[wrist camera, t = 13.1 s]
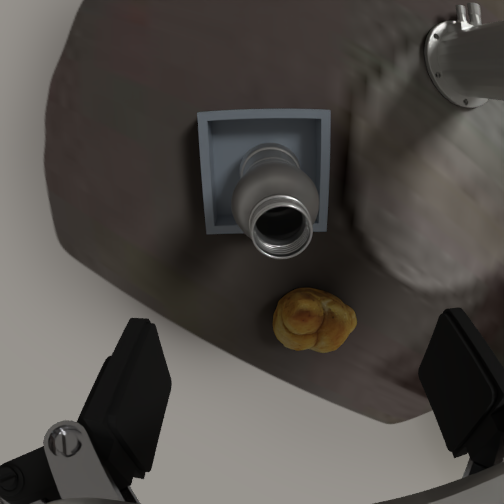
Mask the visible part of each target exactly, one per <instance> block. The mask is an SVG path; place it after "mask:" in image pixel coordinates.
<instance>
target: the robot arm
mask: <svg viewBox="0 0 504 504" xmlns="http://www.w3.org/2000/svg"><path fill="white" fill-rule="evenodd" d="M467 8H468V15H469V19H470V22H467V21H466V10H465V7H464V6H462V5H456V14H457V18H458V20H456V21H445V22H441V23H439V24H437V25H435V26H434V27H433V28H432V29H431V30H430V32H429V34H428V35H427V38H426V41H425V48H424V54H425V62H426V67H427V70H428V73H429V75H430V77H431V79H432V81H433V83H434V85H435V86H436V88H437V89H438V90H439V92H440V93H441V94H442V95H443V96H444V97H445V98H446V99H448V100H449V101H450V102H452V103H454V104H456V105H458V106H461V107H466V108H476V107H479V106H482V105H483V104H485V103H486V102H487V101H488V100H489V99H495V100H503V101H504V21H498V22H493V23H487V24H482V23H481V11H480V6H479V5H478V4H476V3H467ZM435 75H436V76H435ZM418 375H419V379H420V381H421V383H422V386H423V388H424V390H425V393H426V395H427V397H428V400H429V402H430V405H431V407H432V409H433V412H434V414H435V417H436V419H437V422H438V425H439V427H440V430H441V432H442V435H443V438H444V440H445V443H446V446H447V448H448V450H449V451H451V452H452V453H453V456H454V458H456V457H459V456H462V455H465V454H467V453H468V454H469V456H470V458H469V461H468V464H467V467H466V470H465V472H464V475H463V477H462V479H459V480H457V481H454V482H451V483H448V484H445V485H442V486H439V487H436V488H433V489H430V490H426V491H423V492H419V493H416V494H412V495H408V496H405V497H401V498H396V499H392V500H388V501H383V502H379V503H374V504H504V369H503V367H502V365H501V364H500V362H499V361H498V359H497V358H496V356H495V355H494V353H493V352H492V350H491V349H490V347H489V346H488V344H487V343H486V341H485V340H484V338H483V337H482V336H481V334H480V333H479V331H478V330H477V328H476V327H475V326H474V324H473V323H472V322H471V320H470V319H469V317H468V316H467V315H466V313H465V312H464V311H463V310H462V309H461V308H450V309H445V310H444V312H443V314H441V315H440V316H439V319H438V321H437V324H436V327H435V330H434V332H433V335H432V338H431V340H430V343H429V345H428V348H427V350H426V353H425V355H424V358H423V360H422V362H421V365H420V367H419V371H418ZM170 391H171V377H170V374H169V371H168V367H167V364H166V361H165V357H164V354H163V350H162V347H161V344H160V340H159V336H158V333H157V329H156V326H155V324H153V323H150V321H149V319H143V318H131V319H130V320H129V322H128V324H127V326H126V328H125V330H124V332H123V334H122V336H121V338H120V340H119V342H118V344H117V346H116V348H115V350H114V352H113V354H112V356H109V357H108V358H107V359H106V360H105V362H104V364H103V366H102V368H101V370H100V372H99V374H98V377H97V379H96V381H95V383H94V385H93V387H92V389H91V391H90V394H89V396H88V398H87V400H86V402H85V405H84V407H83V409H82V411H81V414H80V416H79V418H78V421H77V422H74V421H61V422H58V423H56V424H54V425H53V426H52V427H51V428H50V429H49V430H48V431H47V433H46V435H45V437H44V442H43V443H44V446H43V447H41V448H38V449H36V450H34V451H32V452H29V453H27V454H25V455H22V456H20V457H18V458H16V459H13V460H11V461H8V462H6V463H4V464H2V465H1V466H0V504H140V502H139V501H138V499H137V497H136V496H135V494H134V493H133V491H132V489H131V487H130V485H131V483H132V479H133V477H135V478H141V479H144V476H145V472H150V470H151V468H152V464H153V459H154V455H155V451H156V447H157V443H158V439H159V434H160V430H161V426H162V422H163V418H164V414H165V410H166V406H167V403H168V399H169V395H170Z"/></svg>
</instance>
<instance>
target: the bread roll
mask: <svg viewBox="0 0 504 504" xmlns="http://www.w3.org/2000/svg"><path fill="white" fill-rule="evenodd" d="M356 324H357V319H356V315H355V312H354V310H353V309H352V308H351V307H350V306H348V305H346V304H344V303H343V302H342V300H340V299H339V298H338V297H336V296H335V295H332V294H330V293H328V292H326V291H323V290H319V289H315V288H308V287H306V288H297V289H295V290H293V291H291V292H289V293H288V294H286V295H285V296H284V297H283V298H281V299H280V300H279V302H278V305H277V308H276V310H275V312H274V314H273V331H274V333H275V335H276V337H277V339H278V340H279V341H280V342H281V343H282V344H284V347H287V348H290V349H293V350H296V351H299V350H305V349H311V350H314V351H316V352H321V353H326V352H330V351H334V350H336V349H337V348H338V347H339V346H341V345H342V344H343V343H344V341H345V340H346V339H347V337H348V335H349V333H351V332H352V331H353V330H354V328H355V327H356Z"/></svg>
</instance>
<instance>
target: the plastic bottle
mask: <svg viewBox="0 0 504 504" xmlns="http://www.w3.org/2000/svg"><path fill="white" fill-rule="evenodd" d="M240 178H241V179H240V180H239V182H238V183H237V185H236V187H235V189H234V191H233V195H232V199H231V209H232V214H233V217H234V219H235V221H236V223H237V225H238V226H239V228H240V229H241V230H242V231H243V233H245V234H246V235H247V236H248V237H249V238H251V239H252V241H253V244H254V245H255V247H256V248H257V249H258V250H259V251H260V252H261V253H262V254H264V255H265V256H268V257H270V258H274V259H288V258H292V257H295V256H296V255H298V254H300V253H301V252H303V251H304V250H305V249H306V248H307V246H308V245H309V243H310V241H311V239H312V234H313V224H314V222H315V220H316V218H317V214H318V211H319V203H320V202H319V194H318V191H317V188H316V186H315V185H314V183H313V181H312V180H311V179H310V178H309V177H308V176H307V174H305V173H304V172H303V171H302V170H301V169H300V163H299V161H298V158H297V157H296V155H295V154H294V153H293V152H292V151H291V150H290V149H289V148H287V147H286V146H283V145H281V144H277V143H263V144H260V145H257V146H255V147H253V148H252V149H250V150H249V151H248V152H247V153H246V154H245V156H244V157H243V159H242V161H241V164H240Z"/></svg>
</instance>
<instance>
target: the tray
mask: <svg viewBox="0 0 504 504" xmlns="http://www.w3.org/2000/svg"><path fill="white" fill-rule="evenodd" d="M197 116H198V133H199V148H200V162H201V176H202V189H203V201H204V212H205V223H206V234H234V233H243V231H242V230H241V229H240V228H239V226H238V225H237V223H236V221H235V219H234V217H233V214H232V209H231V199H232V195H233V191H234V189H235V187H236V185H237V183H238V182H239V180H240V179H241V178H240V164H241V161H242V159H243V157H244V156H245V154H246V153H247V152H248V151H249V150H250V149H252V148H253V147H255V146H257V145H260V144H263V143H277V144H281V145H283V146H286V147H287V148H289V149H290V150H291V151H292V152H293V153H294V154H295V155H296V157H297V158H298V161H299V163H300V169H301V170H302V171H303V172H304V173H305V174H307V176H308V177H309V178H310V179H311V180H312V181H313V183H314V185H315V186H316V188H317V191H318V194H319V202H320V203H319V211H318V214H317V218H316V220H315V222H314V224H313V232H327V216H328V197H329V171H330V110H324V109H239V110H220V111H206V112H198V113H197Z"/></svg>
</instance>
